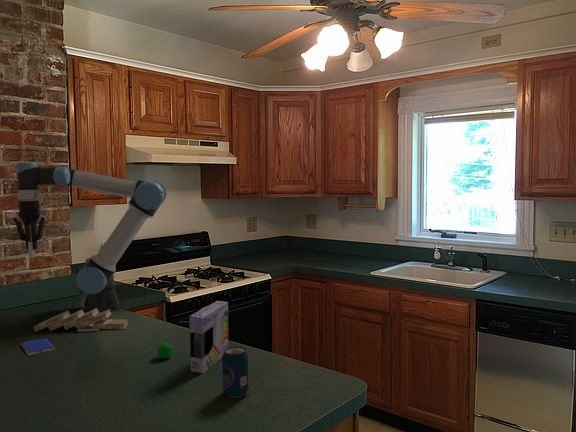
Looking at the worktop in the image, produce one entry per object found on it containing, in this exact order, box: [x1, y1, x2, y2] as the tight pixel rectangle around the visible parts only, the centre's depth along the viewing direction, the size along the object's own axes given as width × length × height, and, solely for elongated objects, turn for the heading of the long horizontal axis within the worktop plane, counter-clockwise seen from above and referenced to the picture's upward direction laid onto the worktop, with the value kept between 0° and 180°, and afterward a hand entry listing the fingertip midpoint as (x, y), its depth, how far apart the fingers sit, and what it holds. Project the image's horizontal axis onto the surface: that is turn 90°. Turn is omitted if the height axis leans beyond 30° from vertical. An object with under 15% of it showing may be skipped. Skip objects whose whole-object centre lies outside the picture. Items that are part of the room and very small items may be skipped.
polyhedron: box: [156, 342, 174, 360], centre depth 163 cm, size 5×5×5 cm
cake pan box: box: [189, 300, 229, 374], centre depth 157 cm, size 19×5×18 cm, turn 161°
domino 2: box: [48, 309, 85, 332], centre depth 196 cm, size 2×6×12 cm
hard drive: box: [21, 337, 55, 356], centre depth 175 cm, size 2×8×12 cm
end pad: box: [76, 324, 101, 332], centre depth 196 cm, size 8×8×1 cm
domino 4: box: [75, 309, 112, 330], centre depth 196 cm, size 2×6×12 cm
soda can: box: [221, 346, 250, 399], centre depth 135 cm, size 7×7×12 cm
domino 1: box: [33, 310, 71, 333], centre depth 195 cm, size 2×6×12 cm
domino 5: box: [92, 318, 129, 330], centre depth 197 cm, size 2×6×12 cm
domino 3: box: [62, 308, 100, 331], centre depth 196 cm, size 2×6×12 cm
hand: (32, 257), depth 206 cm, fingers closed
